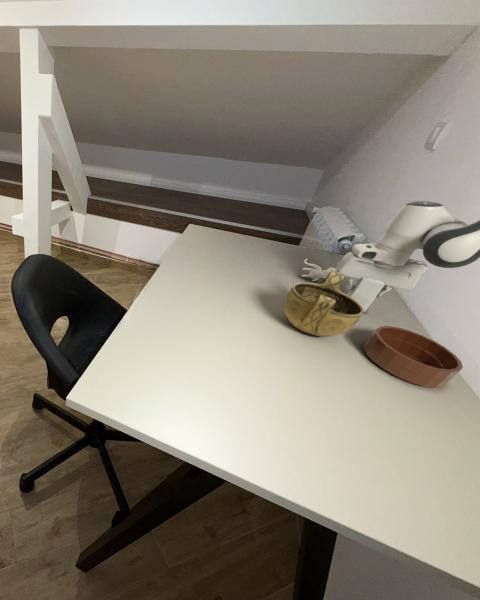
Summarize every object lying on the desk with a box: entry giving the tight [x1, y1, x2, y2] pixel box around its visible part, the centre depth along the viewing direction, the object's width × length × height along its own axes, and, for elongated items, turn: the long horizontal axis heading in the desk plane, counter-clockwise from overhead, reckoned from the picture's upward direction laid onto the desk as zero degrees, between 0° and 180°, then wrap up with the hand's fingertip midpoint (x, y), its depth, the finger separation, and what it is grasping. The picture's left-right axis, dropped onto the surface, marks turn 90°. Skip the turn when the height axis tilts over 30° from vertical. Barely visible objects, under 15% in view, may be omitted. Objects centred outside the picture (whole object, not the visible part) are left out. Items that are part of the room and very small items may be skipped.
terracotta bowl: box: [362, 325, 464, 389], centre depth 79 cm, size 17×17×6 cm
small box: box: [346, 278, 384, 313], centre depth 102 cm, size 8×6×10 cm
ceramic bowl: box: [283, 271, 364, 338], centre depth 87 cm, size 22×17×15 cm
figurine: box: [300, 258, 337, 282], centre depth 117 cm, size 8×9×12 cm
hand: (362, 292), depth 103 cm, fingers closed on small box, 6 cm apart
